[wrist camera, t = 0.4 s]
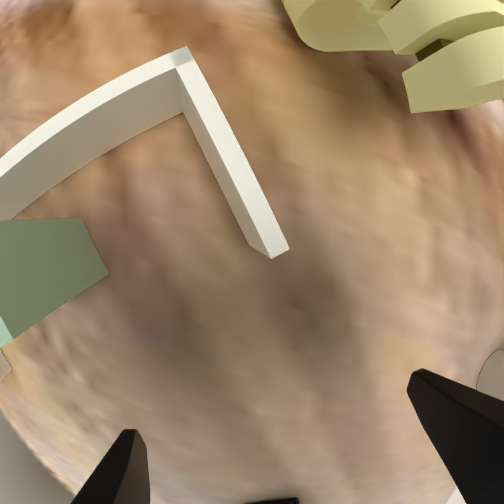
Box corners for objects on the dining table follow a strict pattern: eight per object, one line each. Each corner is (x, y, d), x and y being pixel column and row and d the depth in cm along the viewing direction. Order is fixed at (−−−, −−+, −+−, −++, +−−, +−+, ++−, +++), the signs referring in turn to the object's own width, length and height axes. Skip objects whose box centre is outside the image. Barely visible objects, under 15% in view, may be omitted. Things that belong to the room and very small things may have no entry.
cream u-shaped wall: (261, 238, 21) (289, 249, 14) (7, 372, 19) (-32, 408, 12) (190, 95, 19) (186, 46, 12) (-47, 260, 17) (-96, 273, 10)
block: (109, 274, 20) (13, 339, 7) (64, 300, 19) (-38, 372, 7) (81, 217, 19) (-37, 223, 7) (38, 247, 19) (-81, 276, 6)
